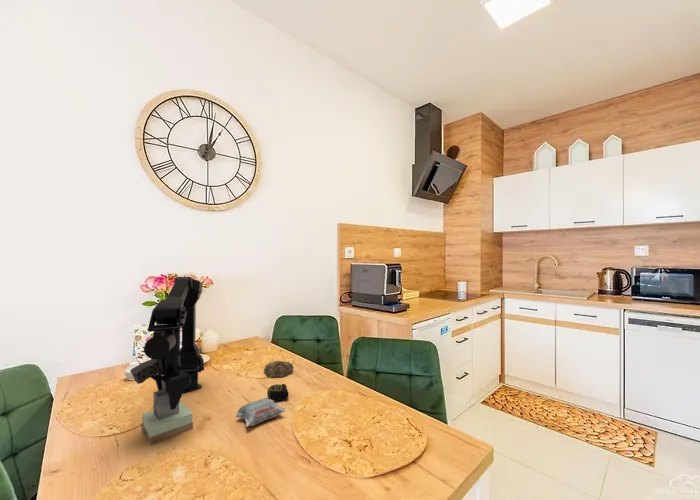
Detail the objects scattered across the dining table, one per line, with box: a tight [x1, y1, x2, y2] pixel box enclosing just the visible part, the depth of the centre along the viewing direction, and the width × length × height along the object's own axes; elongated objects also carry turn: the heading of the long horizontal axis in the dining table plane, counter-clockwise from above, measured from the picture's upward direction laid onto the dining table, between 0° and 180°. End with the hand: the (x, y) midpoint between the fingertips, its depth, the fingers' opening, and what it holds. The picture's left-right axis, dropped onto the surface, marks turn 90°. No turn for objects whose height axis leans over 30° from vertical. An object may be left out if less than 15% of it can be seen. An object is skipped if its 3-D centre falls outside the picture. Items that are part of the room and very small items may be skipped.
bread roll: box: [263, 360, 294, 379], centre depth 126 cm, size 13×12×5 cm
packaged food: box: [235, 397, 286, 428], centre depth 89 cm, size 9×12×5 cm
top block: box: [141, 401, 193, 437], centre depth 84 cm, size 10×10×2 cm
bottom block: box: [140, 421, 194, 446], centre depth 84 cm, size 10×10×2 cm
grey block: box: [153, 390, 180, 420], centre depth 84 cm, size 5×5×6 cm
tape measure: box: [266, 383, 289, 402], centre depth 102 cm, size 7×7×4 cm
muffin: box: [123, 360, 140, 380], centre depth 119 cm, size 6×6×7 cm
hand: (167, 403), depth 84 cm, fingers open, 9 cm apart
